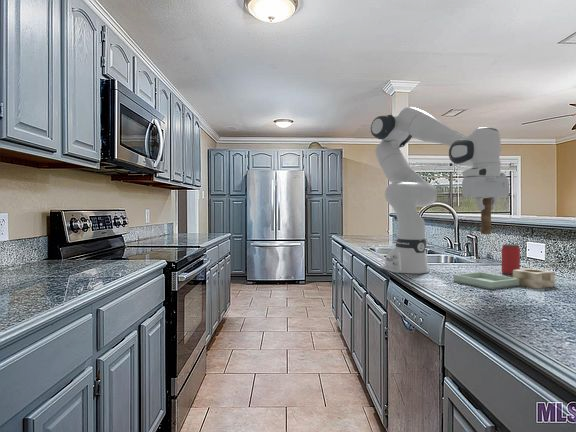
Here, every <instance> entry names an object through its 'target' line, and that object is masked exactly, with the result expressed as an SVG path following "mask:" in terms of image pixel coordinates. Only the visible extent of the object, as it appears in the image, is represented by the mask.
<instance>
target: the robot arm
mask: <svg viewBox="0 0 576 432" xmlns="http://www.w3.org/2000/svg"><path fill="white" fill-rule="evenodd" d="M370 132H371V135H372V136H373V137H374V138H376V139H378V140H381V142H379V144H377V146H376V147H375V155H376V160H377V162H378V164H379V165H380V167H381V169H382V171H383V173H384V175H385V177H386V178H387V180H388V181H389V182H390V183H389V184H388V185H387V187H386V189H385V191H384V192H385V193H384V197H385V200H386V202H387V203H388V204H389V205H390V207H391V208H392V210H393V211H394V213H395V215H396V220H397V230H398V232H397V236H398V237H397V239H394V243H396V244H395V246H394V247H393V249H391V251H389V252H388V253H387V254H386V255H385V260H384V261H385V262H384V264H381V265H379V268H380V269H383V270H385V271H389V272H392V273H396V274H397V273H400V274H427V273H429V272H430V267H429V265H428V257H427V251H426V248H427V239H426V223H425V221H426V220H424V218H423V217H421V216H420V214H419V212H418V210H417V209H418V208H423V207H428V206H430V205H433V204H434V203H435V202H436V201H437V198H438V191H437V190H438V189H437V188H436V186H435V185H434V184H432V183H429V182H428V181H427V180H425V178H423V177H422V176H420V175H419V174H418V173H417V172H416V171H415V170H414V169H413V168H412V167H411V165H410V163H408V161H407V159H406V157H405V156H404V155H403V153H402V151H401V149H400V148H403V147H405V145H407V143H408V142H410V140H411V139H412V138H415V139H416V140H419V141H422V142H426V143H432V144H433V143H434V144H441V145H445V146H448V147H449V149H448V158H449V160H450V162H452V163H453V164H455V165H459V166H468V167H470V168H468V169H465V170H463V171H462V173H461V174H462V175H461V176H462V177H463V179H462V181H461V194H462V197H463V198H475V203H476V205H477V210H478V211H481V210H485V205H483V202H482V201H483V198H491V211H494V210H495V205H496V203H497V199H499V198H501V199H502V198H503V199H504V198H508V197H509V195H510V187H509V186H510V185H509V180H508V177H507V175H506V174H505V173H504V172H501V165H502V164H501V162H502V161H501V159H500V154H501V153H502V148H501V147H502V141H501V134H500V132H499V130H498V129H497V128H494V127H484V126H482V127H477V128H475V129H474V130H473V131H472V132H471V133H470V134H468V135H467V136H465V135H463V134H462V133H459V132H458V131H456V130H455V129H452V128H450V126H448V125H447V124H445V123H444V122H442V121H440V120H439V119H437V118H436V117H434V116H433V115H431V114H430V113H428V112H426V111H425V110H422V109H419V108H417V107H413V106H406V107H404V108H403V109H401V111H399V113H398V115H396V116H394V115H393V114H386V115H384V114H383V115H380V116H376V117H375V118H374V119H373V121H372V122H371V125H370Z"/></svg>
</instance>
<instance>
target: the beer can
mask: <svg viewBox="0 0 576 432" xmlns="http://www.w3.org/2000/svg"><path fill="white" fill-rule="evenodd" d="M517 269H521V250H520V247H519V245H518V244H512V243H511V244H510V243H507V244H506V243H504V244H503V245H502V247H501V273H503V274H505V275H509V276H510V275H512V276H513V270H517Z"/></svg>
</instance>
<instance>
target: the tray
mask: <svg viewBox="0 0 576 432" xmlns="http://www.w3.org/2000/svg"><path fill="white" fill-rule="evenodd" d="M453 282H455V283H460V284H465V285H469V286H472V287H478V288H483V289H486V290H491V289H492V290H498V289H504V288H505V289H507V288H512V287H513V288H514V287H519V286H520V285H519V279H517V278H513V276H511V277H510V276H507V275H500V274H493V273H488V272H484V271H483V272H482V271H476V272H466V273H457V274H456V273H455V274H453Z"/></svg>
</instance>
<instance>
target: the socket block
mask: <svg viewBox="0 0 576 432" xmlns="http://www.w3.org/2000/svg"><path fill="white" fill-rule="evenodd" d="M555 277H556V275H555V271H550V270H545V269H537V268H530V267H529V268H527V267H526V268H520V269H517V270H513V275H512V278H517V279H519V286H523V287H528V288H532V289H533V288H534V289H544V288H550V287H555V286H556V285H555V280H556V279H555Z"/></svg>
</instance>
